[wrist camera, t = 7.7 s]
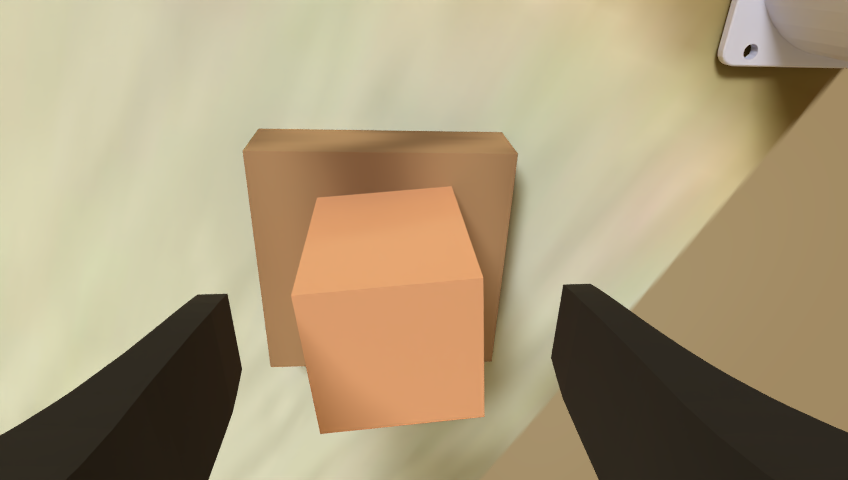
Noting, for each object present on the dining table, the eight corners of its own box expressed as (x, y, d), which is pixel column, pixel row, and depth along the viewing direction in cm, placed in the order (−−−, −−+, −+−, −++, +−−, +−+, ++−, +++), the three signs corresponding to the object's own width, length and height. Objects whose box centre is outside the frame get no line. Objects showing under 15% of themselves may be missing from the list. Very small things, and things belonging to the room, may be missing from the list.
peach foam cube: (452, 186, 18) (483, 277, 12) (456, 297, 20) (484, 416, 15) (316, 197, 18) (290, 295, 12) (335, 308, 20) (320, 433, 14)
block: (499, 128, 20) (518, 153, 17) (478, 318, 24) (491, 361, 22) (261, 125, 19) (242, 150, 17) (282, 321, 23) (270, 367, 21)
